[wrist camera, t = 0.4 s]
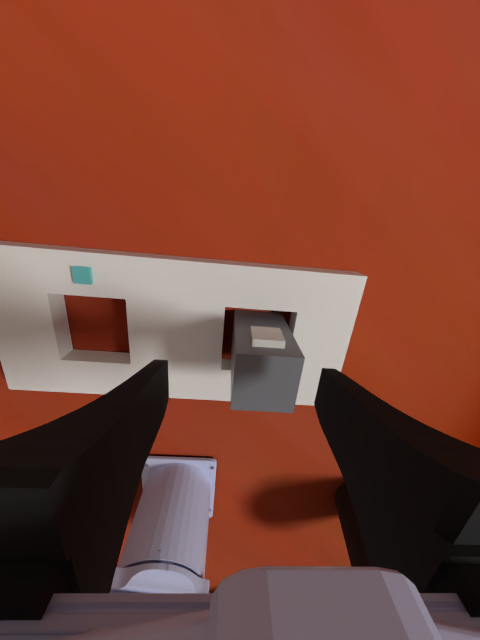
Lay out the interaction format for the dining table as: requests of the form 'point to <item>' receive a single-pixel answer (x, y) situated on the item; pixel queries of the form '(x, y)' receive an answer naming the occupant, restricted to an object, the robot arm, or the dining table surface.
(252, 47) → the dining table surface
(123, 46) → the dining table surface
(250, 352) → the plug
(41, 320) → the panel
